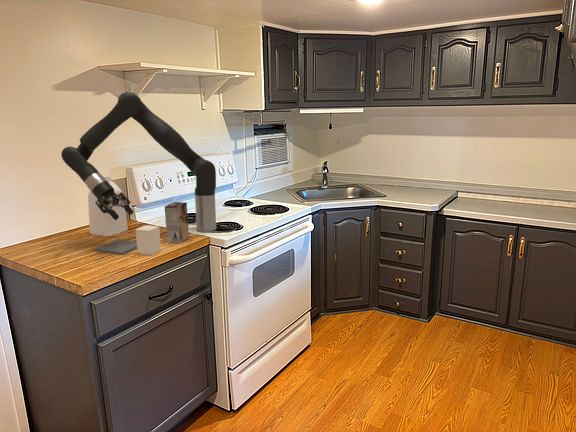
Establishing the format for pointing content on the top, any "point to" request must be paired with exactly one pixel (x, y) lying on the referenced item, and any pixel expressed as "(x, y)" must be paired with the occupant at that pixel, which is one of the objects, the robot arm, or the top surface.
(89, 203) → the milk
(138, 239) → the white rectangular block
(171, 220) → the coffee box
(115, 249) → the mat
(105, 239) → the top surface
